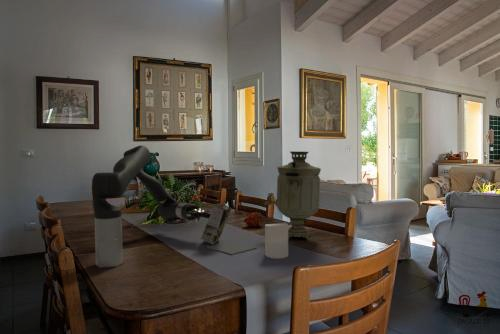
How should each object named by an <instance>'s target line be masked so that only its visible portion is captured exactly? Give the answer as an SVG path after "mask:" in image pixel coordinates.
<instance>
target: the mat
mask: <svg viewBox="0 0 500 334" xmlns="http://www.w3.org/2000/svg"><path fill="white" fill-rule="evenodd" d="M206 249H209V250H212V249H213V251H216V252H219V253H223V254H227V255H230V254H231V255H230V256H233V254H234V255H237V254H240V253H244V251H245V252H248V250H249V251H252V250H256V249H258V247H256V246H252V245H250V244H249V245H248V244H245V243H240V242H236V241H233V240H230V241H225V242H221V243H215V244H211V245H209V246H206Z"/></svg>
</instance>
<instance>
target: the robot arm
mask: <svg viewBox="0 0 500 334" xmlns="http://www.w3.org/2000/svg"><path fill="white" fill-rule="evenodd" d="M151 155H152V154H151V151H150V149H148V147H147V146H145V145H137V146H135V147H133V148H129V149H128V150H126V151H124V153H123V157H122V158H120V159H119V160H118V161H116V163H115V164H114V166H113V169H112V172H96V173H94V175H93V177H92V179H91V180H92V181H91V192H92V194H91V195H92V204H93V213H94V243H95V245H94V246H95V247H94V249H95V266H96V267H98V269H100V268H114V267H115V268H116V267H118V266H120V265H121V264H123V261H124V260H123V259H124V255H123V225H122V224H123V219H122V218H123V217H122V215H123V214H122V213H123V212H122V209H121V208H120V207H118V206H116V205H113V204H111V203H109V202H108V201H107V199H118V198H121V197H122V196H124V194H125V192H127V191H126V190H127V189H128V187H129V185H130V183H131V182H132V181H133V179H134V178H135V177H136V178H137V179H138V180H139V181H140V182H141V183H142V184H143V185H144V186H145V188H146V189H147V190H148V192H149V194H150V195H151V197H152V198H153V199H154V201H155V202H156V203H162V202H163V201H164V202H163V203H162V204H161V205H159V206H158V207H157V213H158V215H159V216H160V217H161V218H163V219H172V218H180V219H183V220H186V221H187V220H188V221H195V220H197V219H200V218H201V219H203V218H204V219H205V218H206V219H209V217H210V214H211V212H210V210H209V208H206V209H201V208H199V207H198V205H196V204H194V203H187V202H186V203H185V202H177V200H176V199H174V197H172V196H171V195H170V194H169V193H168V192H167V191H166V189H165V187H164V186H163V184H162V183H161V181H160V180H159V179H157V178H156V177H154V176H151V175H149V174H148V173H146V172H145V171H143V170H142V169H143V168H144V166H146V165H147V164H149V163H150V162H151V158H152V156H151Z"/></svg>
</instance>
